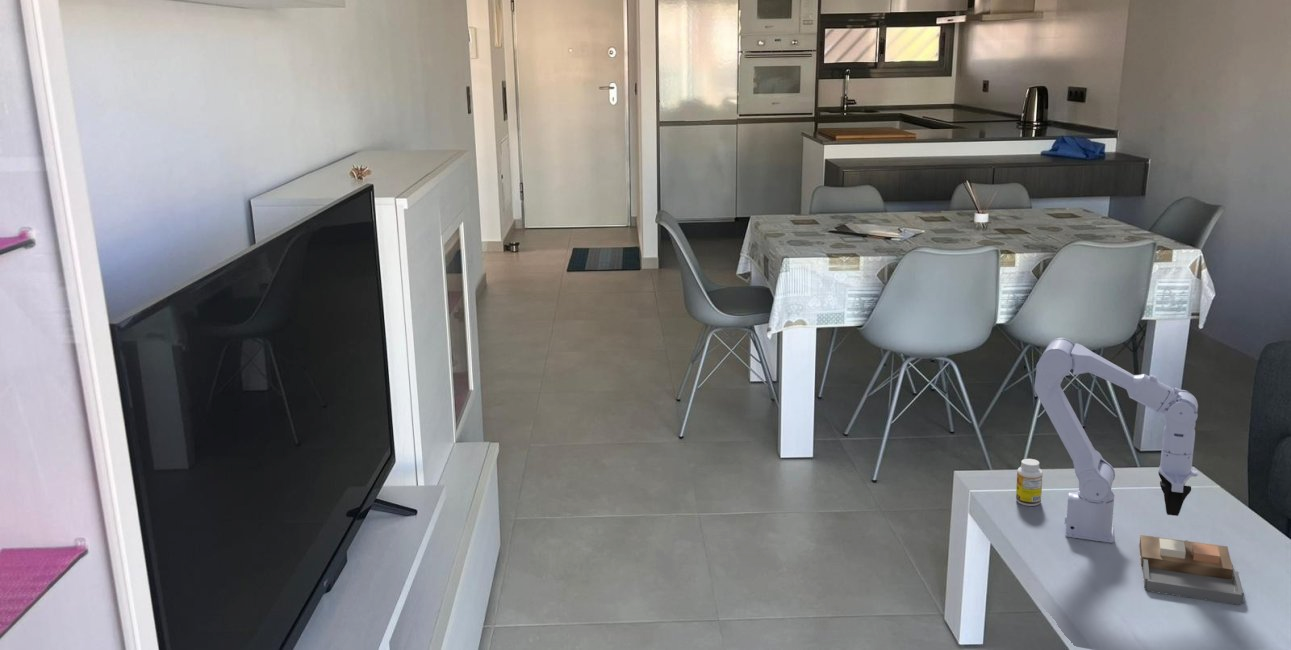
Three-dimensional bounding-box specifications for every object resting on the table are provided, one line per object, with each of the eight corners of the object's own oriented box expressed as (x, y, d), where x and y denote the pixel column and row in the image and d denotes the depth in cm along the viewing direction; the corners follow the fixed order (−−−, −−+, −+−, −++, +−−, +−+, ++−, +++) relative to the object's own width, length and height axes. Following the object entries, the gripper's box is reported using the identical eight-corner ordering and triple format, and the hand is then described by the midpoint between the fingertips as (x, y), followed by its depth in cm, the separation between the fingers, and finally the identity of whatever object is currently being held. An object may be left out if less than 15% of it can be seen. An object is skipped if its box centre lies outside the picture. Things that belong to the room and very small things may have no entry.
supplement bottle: (1018, 495, 233) (1020, 455, 230) (1042, 499, 230) (1045, 459, 227) (1013, 504, 228) (1015, 464, 225) (1038, 508, 225) (1041, 468, 222)
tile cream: (1159, 555, 197) (1160, 548, 197) (1158, 545, 201) (1159, 538, 201) (1184, 558, 195) (1185, 551, 195) (1183, 548, 199) (1183, 541, 199)
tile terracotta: (1193, 560, 195) (1194, 552, 194) (1191, 549, 199) (1192, 542, 198) (1219, 563, 193) (1220, 556, 192) (1216, 553, 197) (1217, 546, 196)
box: (1144, 590, 189) (1145, 580, 189) (1142, 568, 197) (1143, 558, 197) (1242, 605, 183) (1244, 595, 182) (1236, 582, 190) (1238, 572, 190)
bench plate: (1141, 567, 198) (1142, 556, 197) (1139, 545, 206) (1140, 534, 206) (1232, 580, 191) (1233, 569, 190) (1226, 557, 200) (1227, 546, 199)
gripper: (1203, 465, 192) (1196, 527, 195) (1196, 439, 204) (1190, 498, 208) (1162, 461, 195) (1157, 522, 198) (1158, 435, 207) (1153, 494, 211)
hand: (1171, 510), depth 203 cm, fingers open, 4 cm apart
